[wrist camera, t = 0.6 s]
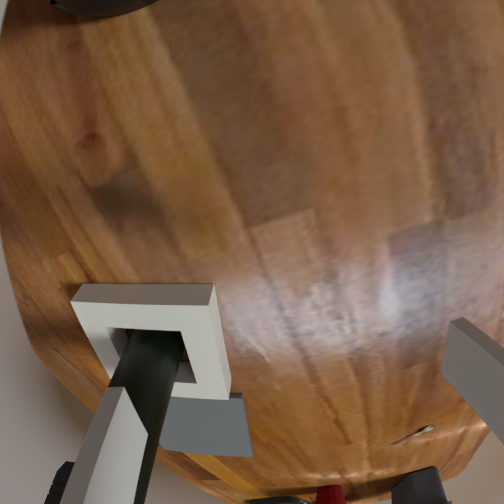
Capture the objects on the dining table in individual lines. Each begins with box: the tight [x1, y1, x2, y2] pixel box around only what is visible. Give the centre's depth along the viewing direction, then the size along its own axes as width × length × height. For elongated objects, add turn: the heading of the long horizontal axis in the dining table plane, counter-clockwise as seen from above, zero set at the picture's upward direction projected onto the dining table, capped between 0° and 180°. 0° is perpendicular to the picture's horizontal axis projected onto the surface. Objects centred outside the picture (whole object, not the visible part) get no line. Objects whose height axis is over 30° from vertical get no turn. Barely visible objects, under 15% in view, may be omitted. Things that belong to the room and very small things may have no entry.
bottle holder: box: [70, 283, 231, 400], centre depth 31 cm, size 14×14×3 cm
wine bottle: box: [108, 329, 185, 504], centre depth 19 cm, size 6×6×30 cm
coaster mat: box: [159, 393, 253, 457], centre depth 42 cm, size 20×16×1 cm
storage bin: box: [391, 467, 452, 504], centre depth 53 cm, size 21×16×14 cm
